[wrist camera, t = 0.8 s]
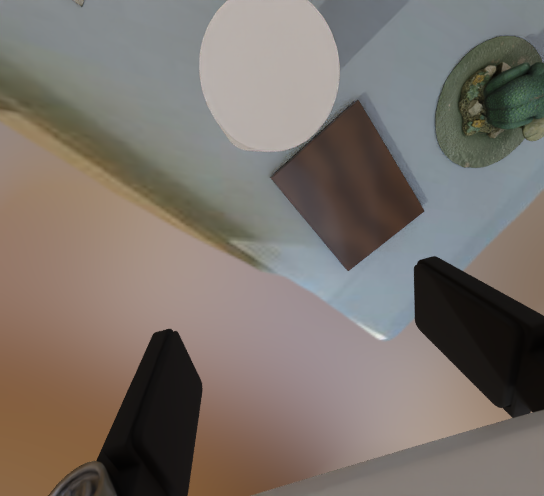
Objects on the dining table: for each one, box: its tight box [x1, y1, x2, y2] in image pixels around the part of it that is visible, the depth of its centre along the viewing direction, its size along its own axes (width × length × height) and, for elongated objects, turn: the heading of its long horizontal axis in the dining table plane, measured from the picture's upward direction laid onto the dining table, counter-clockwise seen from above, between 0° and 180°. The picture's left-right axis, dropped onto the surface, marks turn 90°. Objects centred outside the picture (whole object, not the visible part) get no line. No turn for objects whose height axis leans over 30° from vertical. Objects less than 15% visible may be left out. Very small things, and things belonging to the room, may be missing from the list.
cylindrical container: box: [199, 0, 340, 152], centre depth 25 cm, size 7×7×25 cm
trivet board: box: [270, 100, 424, 271], centre depth 41 cm, size 16×21×2 cm
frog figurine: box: [436, 36, 544, 168], centre depth 34 cm, size 18×18×12 cm
